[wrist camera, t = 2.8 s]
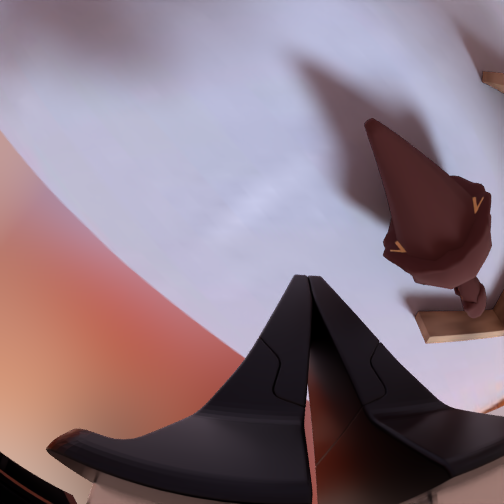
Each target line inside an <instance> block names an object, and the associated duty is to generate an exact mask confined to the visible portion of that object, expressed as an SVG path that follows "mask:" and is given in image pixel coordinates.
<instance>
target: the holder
mask: <svg viewBox="0 0 504 504" xmlns="http://www.w3.org/2000/svg"><path fill="white" fill-rule="evenodd" d="M482 82H483V83H485V84H487V85H489V86H491V87H493V88H495V89H497V90H499V91H500V92H502V93H504V73H496V72H485V71H483V77H482ZM415 320H416V322H417V324H418V326H419V329H420V331H421V333H422V336H423V338H424V340H425V343H426V344H428V343H442V342H454V341H465V340H475V339H483V338H491V337H499V336H504V290H503V292H502V294H501V296H500V298H499V300H498V301H497V303H496V305H495V307H494V309H493V310H484V312H483V313H482V314H481V316H479V317H477V318H471V317H469V316H468V314H467V312H466V311H418V313H417V315H416V317H415Z"/></svg>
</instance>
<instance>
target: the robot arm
mask: <svg viewBox="0 0 504 504" xmlns="http://www.w3.org/2000/svg"><path fill="white" fill-rule="evenodd" d="M307 385H308V391H309V401H310V410H311V421H312V432H313V443H314V455H315V466H316V468H315V469H316V483H317V500H318V504H504V417H502V416H495V415H488V414H482V413H476V412H471V411H465V410H460V409H455V408H452V407H449V406H448V405H446V404H444V403H443V402H441V401H440V400H439V399H437V398H436V397H435V396H434V395H433V394H432V393H431V392H430V391H429V390H428V389H427V388H426V387H424V386H423V385H422V384H421V383H420V382H419V381H418V380H417V379H416V378H415V377H414V376H413V375H412V374H411V373H410V372H409V371H408V370H407V369H405V368H404V367H403V366H402V365H401V364H400V363H399V362H398V361H397V360H396V358H395V357H394V356H393V355H392V354H391V353H390V352H389V351H388V350H387V349H386V348H385V346H384V345H383V344H382V343H381V342H380V343H379V340H378V339H377V337H376V336H375V335H374V334H373V333H372V332H371V331H370V330H369V328H368V327H367V326H366V325H365V324H364V323H363V322H362V321H361V320H360V318H359V317H358V316H357V315H356V314H355V313H354V312H353V311H352V310H351V309H350V307H349V306H348V305H347V304H346V303H345V302H344V301H343V300H342V299H341V298H340V296H339V295H338V294H337V293H336V292H335V291H334V290H333V289H332V288H331V287H330V286H329V285H328V283H327V282H326V281H325V280H324V279H323V278H322V277H321V276H308V277H307V276H306V275H294V276H293V278H292V280H291V282H290V284H289V285H288V287H287V289H286V291H285V293H284V294H283V296H282V298H281V300H280V301H279V303H278V305H277V307H276V308H275V310H274V312H273V314H272V315H271V317H270V319H269V321H268V322H267V324H266V326H265V328H264V329H263V331H262V333H261V334H260V336H259V339H257V341H256V343H255V344H254V346H253V348H252V349H251V351H250V352H249V354H248V355H247V357H246V358H245V360H244V361H243V362H242V364H241V365H240V366H239V367H238V368H237V370H236V371H235V372H234V373H233V375H232V376H231V377H230V378H229V379H228V380H227V381H226V383H225V384H224V385H223V386H222V387H221V388H220V389H219V390H218V391H217V392H216V394H215V395H214V396H213V397H212V398H211V399H210V400H209V401H208V402H207V403H206V404H205V405H204V406H203V407H202V408H201V409H200V410H198V411H197V412H196V413H194V414H193V415H191V416H189V417H187V418H185V419H182V420H180V421H178V422H175V423H173V424H171V425H168V426H166V427H164V428H162V429H159V430H156V431H154V432H151V433H149V434H146V435H144V436H141V437H138V438H134V439H113V438H108V437H106V436H103V435H100V434H97V433H94V432H91V431H88V430H83V429H73V430H71V431H69V432H67V433H65V434H63V435H61V436H59V437H57V438H56V439H55V440H53V441H52V442H51V443H50V444H49V446H48V447H47V448H46V450H47V452H48V453H49V454H50V455H51V456H53V457H54V458H55V459H57V460H58V461H60V462H61V463H62V464H64V465H65V466H67V467H68V468H70V469H71V470H73V471H74V472H76V473H77V474H79V475H81V476H82V477H84V478H85V479H87V480H89V481H90V482H92V483H93V484H92V487H91V491H90V494H89V497H88V501H87V504H312V483H311V475H310V467H309V459H308V452H307V444H306V437H305V429H304V416H305V407H306V396H307ZM0 504H77V503H76V501H75V499H74V497H73V495H71V494H69V493H67V492H65V491H63V490H61V489H59V488H57V487H55V486H53V485H52V484H50V483H48V482H46V481H44V480H43V479H41V478H39V477H37V476H36V475H34V474H32V473H31V472H29V471H28V470H26V469H24V468H23V467H21V466H20V465H18V464H17V463H15V462H14V461H12V460H11V459H9V458H8V457H6V456H5V455H4V454H2V453H1V452H0Z"/></svg>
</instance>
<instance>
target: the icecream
mask: <svg viewBox="0 0 504 504" xmlns="http://www.w3.org/2000/svg"><path fill="white" fill-rule="evenodd" d="M364 126H365V129H366V132H367V135H368V139H369V141H370V144H371V147H372V150H373V153H374V156H375V159H376V162H377V165H378V168H379V171H380V175H381V178H382V182H383V185H384V189H385V192H386V196H387V200H388V204H389V208H390V212H391V216H392V217H391V222H390V226H389V230H388V233H387V235H386V237H385V239H384V241H383V244H384V247H385V251H384V253H383V256H384V257H385V258H386V259H387V260H389V261H391V262H392V263H394V264H396V265H397V266H399V267H400V268H402V269H403V270H404V271H405V272H407V273H409V274H411V275H412V276H413V279H414V281H415V283H419V284H423V285H431V286H436V287H442V288H448V289H453V288H454V291H455V294H456V295H458V296H460V298H461V301H462V304H463V309H464V311H466V312H467V314H468V316H469V317H471V318H477V317H479V316H481V314H482V313H483V312H484V310H485V307H486V292H485V288H484V286H483V284H481V283H480V282H479V280H478V278H477V277H476V275H477V273H478V272H479V270H480V268H481V267H482V265H483V263H484V262H485V260H486V258H487V256H488V254H489V252H490V249H491V247H492V242H491V233H490V230H491V215H490V208H491V194H490V193H489V192H486V191H485V188H484V186H483V185H482V184H479V183H472V182H470V181H468V180H466V179H464V178H462V177H459V176H449V175H448V174H447V173H446V172H445V171H443V170H442V169H441V168H440V167H439V166H437V165H436V164H435V163H434V162H433V161H431V160H430V159H429V158H428V157H426V156H425V155H424V154H423V153H421V152H420V151H419V150H417V149H416V148H415V147H413V146H412V145H411V144H410V143H408V142H407V141H406V140H404V139H403V138H402V137H400V136H399V135H398V134H396V133H395V132H393V131H392V130H391V129H389V128H388V127H386V126H385V125H383V124H382V123H380V122H379V121H377V120H375V119H374V118H371V119H369V120H367V121H366V122H365V124H364Z"/></svg>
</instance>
